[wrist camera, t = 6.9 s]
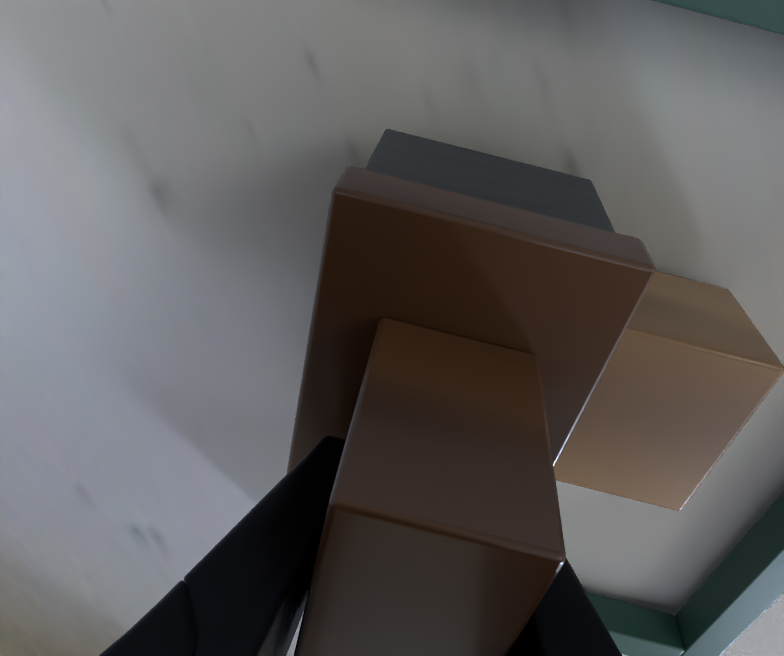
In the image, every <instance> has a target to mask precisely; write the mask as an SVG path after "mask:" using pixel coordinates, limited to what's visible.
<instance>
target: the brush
mask: <svg viewBox="0 0 784 656" xmlns="http://www.w3.org/2000/svg"><path fill="white" fill-rule="evenodd" d="M655 273H656V266H655V265H654V263H653V261H652V259H651V257H650V255H649V253H648V252H647V250H646V248H645V246H644V244H643V242H642V241H641V240H640V239H637V238H633V237H629V236H625V235H621V234H617V233H615V231H614V229H613V227H612V225H611V222H610V220H609V218H608V216H607V214H606V212H605V210H604V207H603V205H602V203H601V201H600V199H599V197H598V194H597V192H596V190H595V188H594V186H593V184H592V182H591V181H590V180H588V179H584V178H580V177H577V176H573V175H569V174H565V173H561V172H557V171H553V170H549V169H545V168H541V167H537V166H533V165H529V164H525V163H521V162H517V161H513V160H509V159H505V158H501V157H497V156H493V155H489V154H485V153H481V152H477V151H473V150H469V149H466V148H462V147H458V146H454V145H450V144H446V143H442V142H438V141H434V140H430V139H426V138H422V137H418V136H414V135H410V134H406V133H402V132H398V131H394V130H390V129H386V130H385V132H384V134H383V136H382V137H381V139H380V141H379V143H378V145H377V147H376V149H375V151H374V152H373V154H372V156H371V158H370V160H369V162H368V164H367V166H366V167H365V169H364V170H363V169H359V168H355V167H347V168H346V169H345V171H344V172H343V174H342V175H341V177H340V179H339V180H338V182H337V183H336V185H335V187H334V188H333V190H332V194H331V200H330V207H329V213H328V219H327V225H326V231H325V238H324V244H323V250H322V256H321V263H320V269H319V275H318V281H317V287H316V294H315V300H314V306H313V312H312V319H311V325H310V331H309V337H308V344H307V350H306V356H305V362H304V368H303V375H302V381H301V387H300V393H299V400H298V406H297V412H296V418H295V425H294V431H293V437H292V443H291V449H290V456H289V462H288V468H287V474H288V473H289V472H290V471H291V470H292V469H293V468H294V467H295V466H296V465H297V464H298V463H299V462H300V461H301V460H302V459H303V458H304V457H305V456H306V455H307V454H308V453H309V452H310V451H311V450H312V449H313V448H314V447H315V446H316V445H317V444H318V443H319V442H320V441H321V440H322V439H323V438H324V437H325V436H328V435H330V436H334V437H338V438H342V439H346V442H345V445H344V449H343V453H342V456H341V460H340V463H339V467H338V471H337V474H336V478H335V481H334V485H333V489H332V492H331V496H330V499H329V504H328V508H327V513H326V517H325V521H324V526H323V530H322V534H321V539H320V543H319V548H318V552H317V556H316V561H315V565H314V570H313V574H312V578H311V583H310V587H309V592H308V596H307V600H306V605H305V609H304V614H303V618H302V622H301V627H300V631H299V635H298V640H297V644H296V649H295V653H294V656H507V654H508V653H509V651H510V650H511V648H512V646H513V645H514V643H515V642H516V640H517V638H518V637H519V635H520V633H521V632H522V630H523V629H524V627H525V625H526V624H527V622H528V621H529V619H530V617H531V616H532V614H533V613H534V611H535V609H536V608H537V606H538V604H539V603H540V601H541V600H542V598H543V596H544V595H545V593H546V592H547V590H548V588H549V587H550V585H551V583H552V582H553V580H554V579H555V577H556V575H557V574H558V572H559V571H560V569H561V567H562V566H563V564H564V562H565V559H566V555H565V547H564V539H563V532H562V525H561V517H560V510H559V503H558V495H557V488H556V481H555V473H554V466H555V464H556V462H557V460H558V458H559V456H560V454H561V452H562V450H563V448H564V447H565V445H566V443H567V441H568V439H569V437H570V435H571V433H572V431H573V429H574V427H575V426H576V424H577V422H578V420H579V418H580V416H581V414H582V412H583V410H584V408H585V406H586V405H587V403H588V401H589V399H590V397H591V395H592V393H593V391H594V389H595V387H596V386H597V384H598V382H599V380H600V378H601V376H602V374H603V372H604V370H605V368H606V366H607V365H608V363H609V361H610V359H611V357H612V355H613V353H614V351H615V349H616V347H617V345H618V344H619V342H620V340H621V338H622V336H623V334H624V332H625V330H626V328H627V326H628V324H629V323H630V321H631V319H632V317H633V315H634V313H635V311H636V309H637V307H638V305H639V304H640V302H641V300H642V298H643V296H644V294H645V292H646V290H647V288H648V286H649V284H650V283H651V281H652V279H653V277H654V275H655ZM287 474H286V475H287Z"/></svg>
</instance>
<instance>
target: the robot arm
mask: <svg viewBox="0 0 784 656" xmlns="http://www.w3.org/2000/svg"><path fill="white" fill-rule="evenodd" d="M345 442H346V439H342V438H338V437H334V436H330V435H328V436H325V437H324V438H323V439H322V440H321V441H320V442H319V443H318V444H317V445H316V446H315V447H314V448H313V449H312V450H311V451H310V452H309V453H308V454H307V455H306V456H305V457H304V458H303V459H302V460H301V461H300V462H299V463H298V464H297V465H296V466H295V467H294V468H293V469H292V470H291V471H290V472H289V473H288V474H287V475H286V476H285V477H284V478H283V479H282V480H281V481H280V482H279V483H278V484H277V485H276V486H275V487H274V488H273V489H272V490H271V491H270V492H269V493H268V494H267V495H266V496H265V497H264V498H263V499H262V500H261V501H260V502H259V503H258V504H257V505H256V506H255V507H254V508H253V509H252V510H251V511H250V512H249V513H248V514H247V515H246V516H245V517H244V518H243V519H242V520H241V521H240V522H239V523H238V524H237V525H236V526H235V527H234V528H233V529H232V530H231V531H230V532H229V533H228V534H227V535H226V536H225V537H224V538H223V539H222V540H221V541H220V542H219V543H218V544H217V545H216V546H215V547H214V548H213V549H212V550H211V551H210V552H209V553H208V554H207V555H206V556H205V557H204V558H203V559H202V560H201V561H200V562H199V563H198V564H197V565H196V566H195V567H194V568H193V569H192V570H191V571H190V572H189V573H188V574H187V575H186V576H185V578H184V581H180V582H179V583H178V584H177V585H176V586H175V587H174V588H173V589H172V590H171V591H170V592H169V593H168V594H167V595H166V596H165V597H164V598H163V599H162V600H161V601H160V602H158V603H157V604H156V605H155V606H154V607H153V608H152V609H151V610H150V611H149V612H148V613H147V614H146V615H145V616H144V617H143V618H141V619H140V620H139V621H138V622H137V623H136V624H135V625H134V626H133V627H132V628H131V629H130V630H129V631H127V632H126V633H125V634H124V635H123V636H122V637H120V638H119V639H118V640H117V641H116V642H114V643H113V644H112V645H111V646H110V647H109V648H107V649H106V650H105V651H104V652H103V653H101V654H100V655H99V656H286V655H287V652H288V649H289V647H290V644H291V642H292V639H293V637H294V634H295V632H296V629H297V626H298V624H299V621H300V619H301V616H302V614H303V611H304V609H305V605H306V600H307V596H308V592H309V587H310V583H311V578H312V574H313V570H314V565H315V561H316V556H317V552H318V548H319V543H320V539H321V534H322V530H323V526H324V521H325V517H326V513H327V508H328V504H329V499H330V496H331V492H332V489H333V485H334V481H335V478H336V474H337V471H338V467H339V463H340V460H341V456H342V453H343V449H344V445H345ZM507 656H622V654H621V652H620V651H619V649H618V647H617V645H616V644H615V642H614V640H613V639H612V637H611V635H610V633H609V632H608V630H607V628H606V626H605V625H604V623H603V621H602V619H601V618H600V616H599V614H598V612H597V611H596V609H595V607H594V605H593V604H592V602H591V600H590V599H589V597H588V595H587V593H586V592H585V590H584V588H583V586H582V585H581V583H580V581H579V579H578V578H577V576H576V574H575V572H574V571H573V569H572V567H571V565H570V564H569V562H568V560H567V559H565V562H564V564H563V566H562V567H561V569H560V571H559V572H558V574H557V575H556V577H555V579H554V580H553V582H552V583H551V585H550V587H549V588H548V590H547V592H546V593H545V595H544V596H543V598H542V600H541V601H540V603H539V604H538V606H537V608H536V609H535V611H534V613H533V614H532V616H531V617H530V619H529V621H528V622H527V624H526V625H525V627H524V629H523V630H522V632H521V633H520V635H519V637H518V638H517V640H516V642H515V643H514V645H513V646H512V648H511V650H510V651H509V653H508V654H507Z"/></svg>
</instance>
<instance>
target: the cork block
mask: <svg viewBox="0 0 784 656" xmlns="http://www.w3.org/2000/svg"><path fill="white" fill-rule="evenodd" d="M783 372H784V366H783V365H782V363H781V362H780V360H779V359H778V358H777V356H776V355H775V353H774V352H773V351H772V349H771V348H770V346H769V345H768V344H767V342H766V341H765V339H764V338H763V337H762V335H761V334H760V332H759V331H758V330H757V328H756V327H755V325H754V324H753V323H752V321H751V320H750V318H749V317H748V316H747V314H746V313H745V311H744V310H743V309H742V307H741V306H740V304H739V303H738V302H737V300H736V299H735V297H734V296H733V295H732V293H731V292H730V291H729V290H728V289H725V288H721V287H717V286H713V285H709V284H705V283H701V282H697V281H693V280H690V279H686V278H682V277H678V276H674V275H670V274H666V273H662V272H658V271H656V273H655V275H654V277H653V279H652V281H651V283H650V284H649V286H648V288H647V290H646V292H645V294H644V296H643V298H642V300H641V302H640V304H639V305H638V307H637V309H636V311H635V313H634V315H633V317H632V319H631V321H630V323H629V324H628V326H627V328H626V330H625V332H624V334H623V336H622V338H621V340H620V342H619V344H618V345H617V347H616V349H615V351H614V353H613V355H612V357H611V359H610V361H609V363H608V365H607V366H606V368H605V370H604V372H603V374H602V376H601V378H600V380H599V382H598V384H597V386H596V387H595V389H594V391H593V393H592V395H591V397H590V399H589V401H588V403H587V405H586V406H585V408H584V410H583V412H582V414H581V416H580V418H579V420H578V422H577V424H576V426H575V427H574V429H573V431H572V433H571V435H570V437H569V439H568V441H567V443H566V445H565V447H564V448H563V450H562V452H561V454H560V456H559V458H558V460H557V462H556V464H555V466H554V473H555V480H558V481H562V482H566V483H570V484H574V485H578V486H582V487H586V488H590V489H594V490H597V491H601V492H605V493H609V494H613V495H617V496H621V497H625V498H629V499H633V500H637V501H641V502H645V503H649V504H653V505H657V506H661V507H665V508H669V509H673V510H677V511H678V510H682V509H683V507H684V506H685V504H686V503H687V502H688V500H689V499H690V498H691V496H692V495H693V494H694V492H695V491H696V490H697V488H698V487H699V486H700V484H701V483H702V482H703V480H704V479H705V478H706V476H707V475H708V473H709V472H710V471H711V469H712V468H713V467H714V465H715V464H716V463H717V461H718V460H719V459H720V457H721V456H722V455H723V453H724V452H725V451H726V449H727V448H728V446H729V445H730V444H731V442H732V441H733V440H734V438H735V437H736V436H737V434H738V433H739V432H740V430H741V429H742V428H743V426H744V425H745V424H746V422H747V421H748V419H749V418H750V417H751V415H752V414H753V413H754V411H755V410H756V409H757V407H758V406H759V405H760V403H761V402H762V401H763V399H764V398H765V397H766V395H767V394H768V393H769V391H770V390H771V388H772V387H773V386H774V384H775V383H776V382H777V380H778V379H779V378H780V376H781V375H782V374H783Z"/></svg>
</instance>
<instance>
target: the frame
mask: <svg viewBox="0 0 784 656" xmlns="http://www.w3.org/2000/svg"><path fill="white" fill-rule="evenodd" d="M653 1H657V2H661V3H665V4H669V5H672V6H676V7H680V8H684V9H688V10H692V11H696V12H699V13H703V14H707V15H711V16H715V17H719V18H723V19H726V20H730V21H734V22H738V23H742V24H746V25H750V26H753V27H757V28H761V29H765V30H769V31H773V32H777V33H780V34H784V0H653ZM783 593H784V492H783V493H782V494H781V495H780V496H779V498H778V499H777V500H776V501H775V502H774V503H773V504H772V506H771V507H770V508H769V509H768V510H767V511H766V512H765V514H764V515H763V516H762V517H761V518H760V519H759V520H758V522H757V523H756V524H755V525H754V526H753V527H752V528H751V530H750V531H749V532H748V533H747V534H746V535H745V536H744V538H743V539H742V540H741V541H740V542H739V543H738V544H737V546H736V547H735V548H734V549H733V550H732V551H731V552H730V554H729V555H728V556H727V557H726V558H725V559H724V560H723V562H722V563H721V564H720V565H719V566H718V567H717V568H716V570H715V571H714V572H713V573H712V574H711V575H710V577H709V578H708V579H707V580H706V581H705V582H704V583H703V585H702V586H701V587H700V588H699V589H698V590H697V591H696V593H695V594H694V595H693V596H692V597H691V598H690V599H689V601H688V602H687V603H686V604H685V605H684V606H683V607H682V609H681V610H680V611H679V612H678V613H677V614H676V615H673V614H669V613H665V612H661V611H657V610H653V609H649V608H646V607H642V606H638V605H634V604H630V603H626V602H622V601H618V600H614V599H610V598H606V597H602V596H598V595H594V594H590V593H587V595H588V597H589V599H590V600H591V602H592V604H593V605H594V607H595V609H596V611H597V612H598V614H599V616H600V618H601V619H602V621H603V623H604V625H605V626H606V628H607V630H608V632H609V633H610V635H611V637H612V639H613V640H614V642H615V644H616V645H617V647H618V649H619V651H620V652H621V654H625V655H629V656H720V655H721V654H722V653H723V652H724V651H725V650H726V649H727V648H728V647H729V646H730V645H731V644H732V643H733V642H734V641H735V640H736V639H737V638H738V637H739V636H740V635H741V634H742V633H743V632H744V631H745V630H746V629H747V628H748V627H749V626H750V625H751V624H752V623H753V622H754V621H755V620H756V619H757V618H758V617H759V616H760V615H762V614H763V613H764V612H765V611H766V610H767V609H768V608H769V607H770V606H771V605H772V604H773V603H774V602H775V601H776V600H777V599H778V598H779V597H780V596H781V595H782V594H783Z"/></svg>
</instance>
